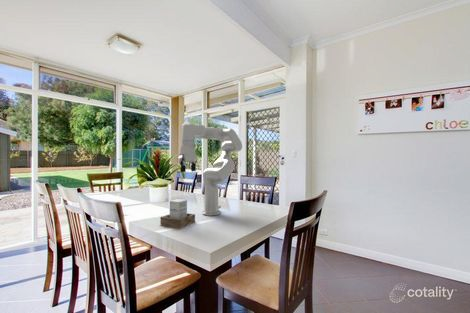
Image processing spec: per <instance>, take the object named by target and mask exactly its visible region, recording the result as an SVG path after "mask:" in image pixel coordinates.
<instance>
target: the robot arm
mask: <svg viewBox="0 0 470 313" xmlns="http://www.w3.org/2000/svg"><path fill="white" fill-rule="evenodd" d="M195 139H204V140H205V139H206V140H214V141H221V142H222V144H221V155H220V156H219V157H218V158H217V159H216V160H215V162H214V163H213V164H212V167H209V168H208V167H207V168H205V169H204V170H203V173H202V177H203V183H204V210H203V211H202V212H201V213H202V215H203V216H211V217H212V216H218V215H220V214H221V210H219V209H221V208H222V206H221V205H219V186H218V183H224V182H225V181H226V180H227V179H228V178H229V177H230V176H231V174H232V173H233V172H234V170H235V167H236V166H235V162H234V160H233V159H232V155H231V153H234V152H235V153H237V152H240V151H241V150H242V149H243V144H242V141H241V138H240V137H239V136H238V134H237V132H236V131H235V129H233V128H218V127H216V126H215V127H213V126H207V127H206V126H205V125H204V124H194V123H191V122H190V123H188V122H187V123H183V124H182V126H181V146H180V152H179V156H178V158H177V160H178V163H179V166H180V173H186V165H187V163H191V165H190V171H191V172H196V170H197V169H196V165H197V162H198V157H197V155H196V152H197V151H196V147H195V144H196V143H195Z"/></svg>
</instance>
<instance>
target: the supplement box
mask: <svg viewBox="0 0 470 313" xmlns="http://www.w3.org/2000/svg"><path fill="white" fill-rule="evenodd" d="M187 213H188V200H187V199H180V198H177V199H172V200H169V214H170V218H172V219H178V220H179V219H182V218H185V217H187Z"/></svg>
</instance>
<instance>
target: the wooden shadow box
mask: <svg viewBox="0 0 470 313" xmlns="http://www.w3.org/2000/svg"><path fill="white" fill-rule="evenodd" d="M159 222H160V226H165V227H168V228H174V229H181V228H183V227H186V226H189V225H191V224H193V223H195V222H196V214H194V213H188V212H187V217H185V218H182V219H179V220H178V219H172V218H170V213H169V214H166V215H162V216H160V221H159Z"/></svg>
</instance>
